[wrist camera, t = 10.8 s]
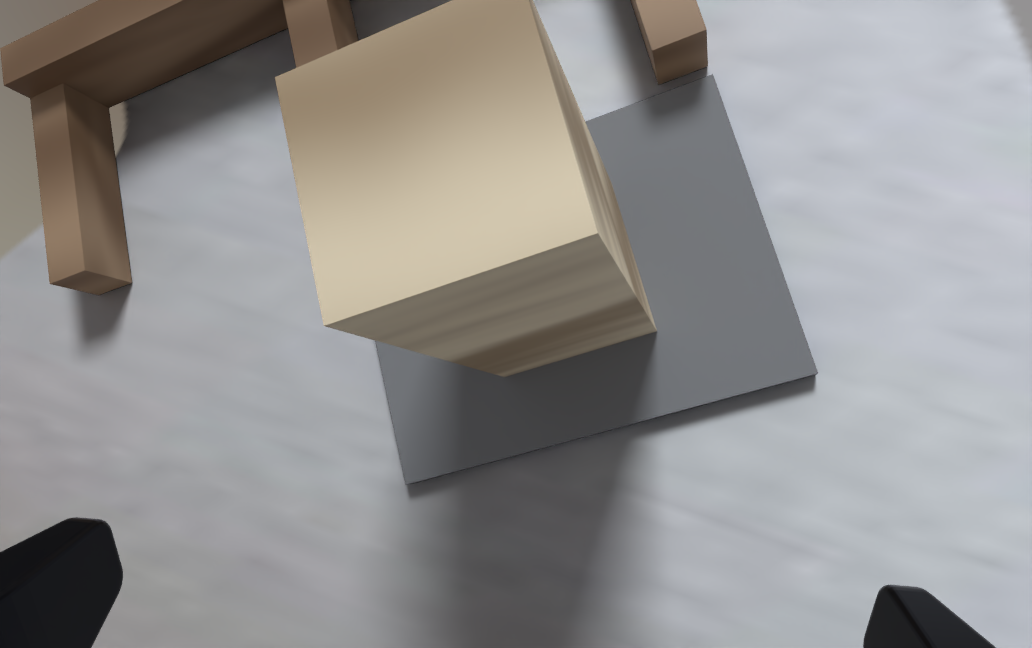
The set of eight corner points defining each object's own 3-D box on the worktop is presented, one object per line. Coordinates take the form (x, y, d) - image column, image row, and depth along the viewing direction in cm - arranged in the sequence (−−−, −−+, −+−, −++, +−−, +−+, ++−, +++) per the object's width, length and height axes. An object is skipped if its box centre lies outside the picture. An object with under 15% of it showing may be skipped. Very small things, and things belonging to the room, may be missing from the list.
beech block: (657, 331, 20) (598, 232, 10) (504, 377, 21) (323, 325, 11) (611, 182, 21) (519, -30, 11) (468, 233, 22) (275, 77, 12)
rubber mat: (816, 374, 19) (818, 373, 19) (411, 483, 22) (405, 484, 21) (713, 80, 21) (712, 74, 21) (354, 213, 24) (347, 210, 23)
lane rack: (708, 66, 21) (705, 8, 18) (98, 295, 26) (22, 277, 23) (623, -174, 23) (609, -260, 20) (72, 81, 28) (-1, 41, 25)
